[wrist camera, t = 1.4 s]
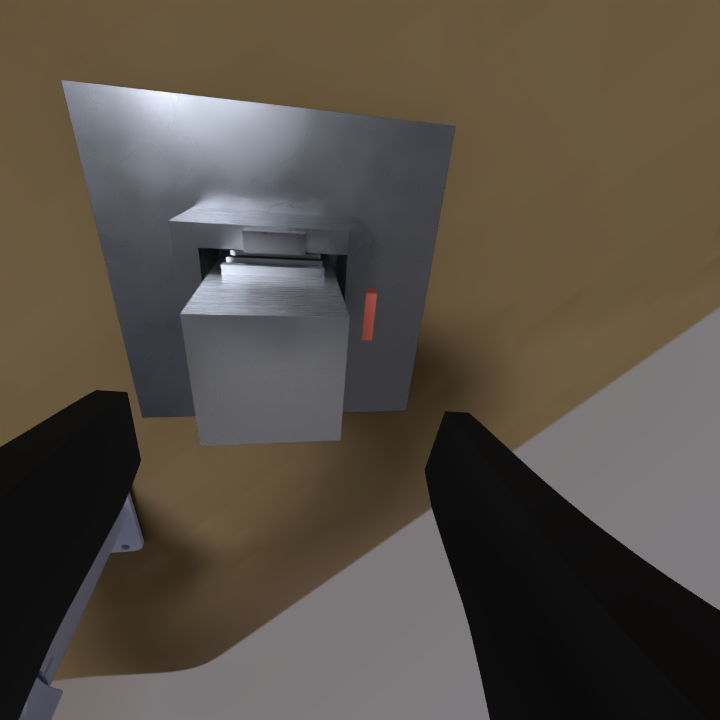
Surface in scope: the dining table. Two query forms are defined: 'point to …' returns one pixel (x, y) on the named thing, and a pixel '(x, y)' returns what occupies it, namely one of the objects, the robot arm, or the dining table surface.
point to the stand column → (267, 349)
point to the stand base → (260, 220)
